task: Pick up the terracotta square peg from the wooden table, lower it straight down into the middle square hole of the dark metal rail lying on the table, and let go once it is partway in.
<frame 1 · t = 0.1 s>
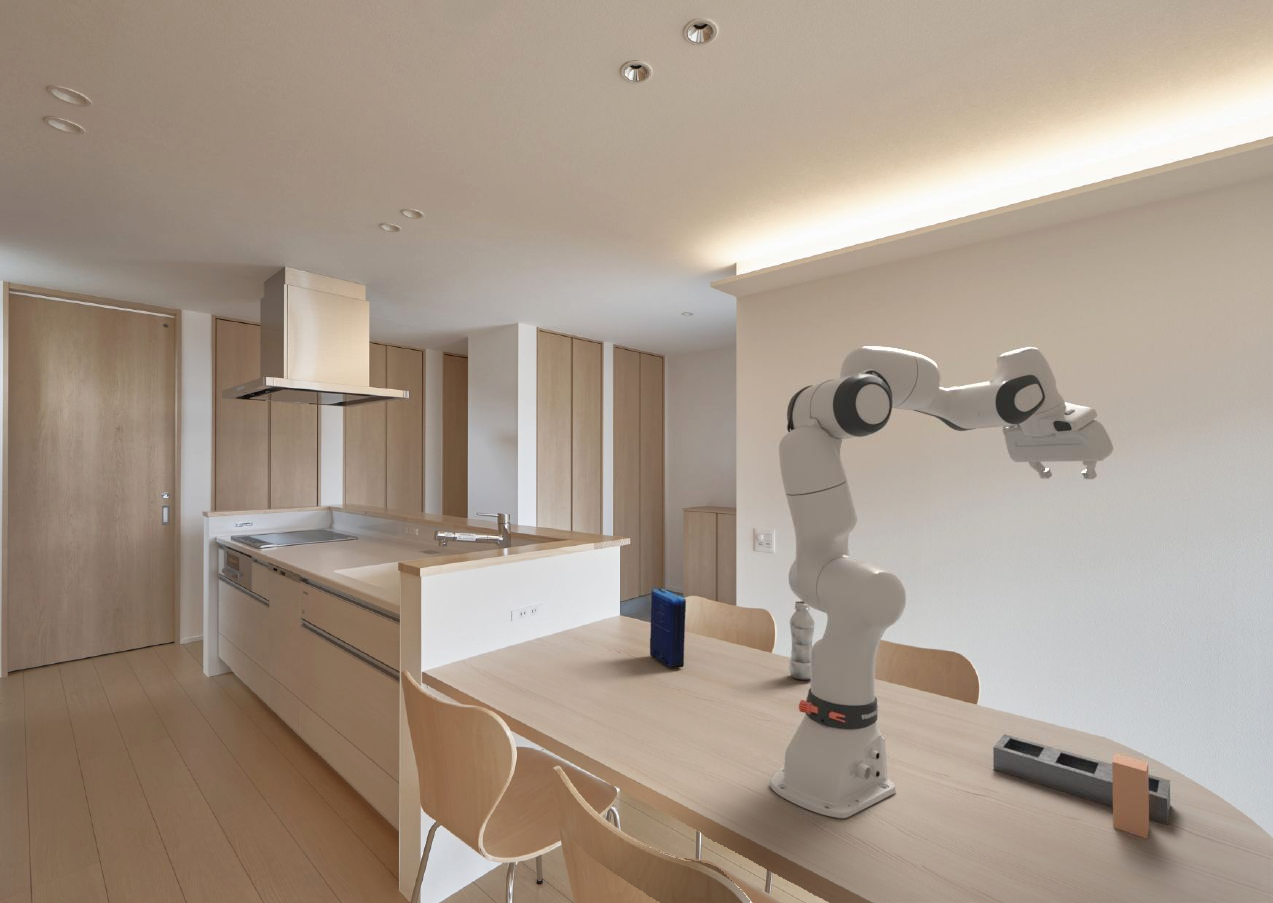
hand: (1068, 477, 125), 54 cm above the table, tool tilted 30°, fingers open, 8 cm apart
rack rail: (1077, 786, 104), on the table
blue upright rectangular block: (666, 663, 167), on the table
peg: (1131, 827, 92), on the table
plastic bottle: (801, 679, 156), on the table
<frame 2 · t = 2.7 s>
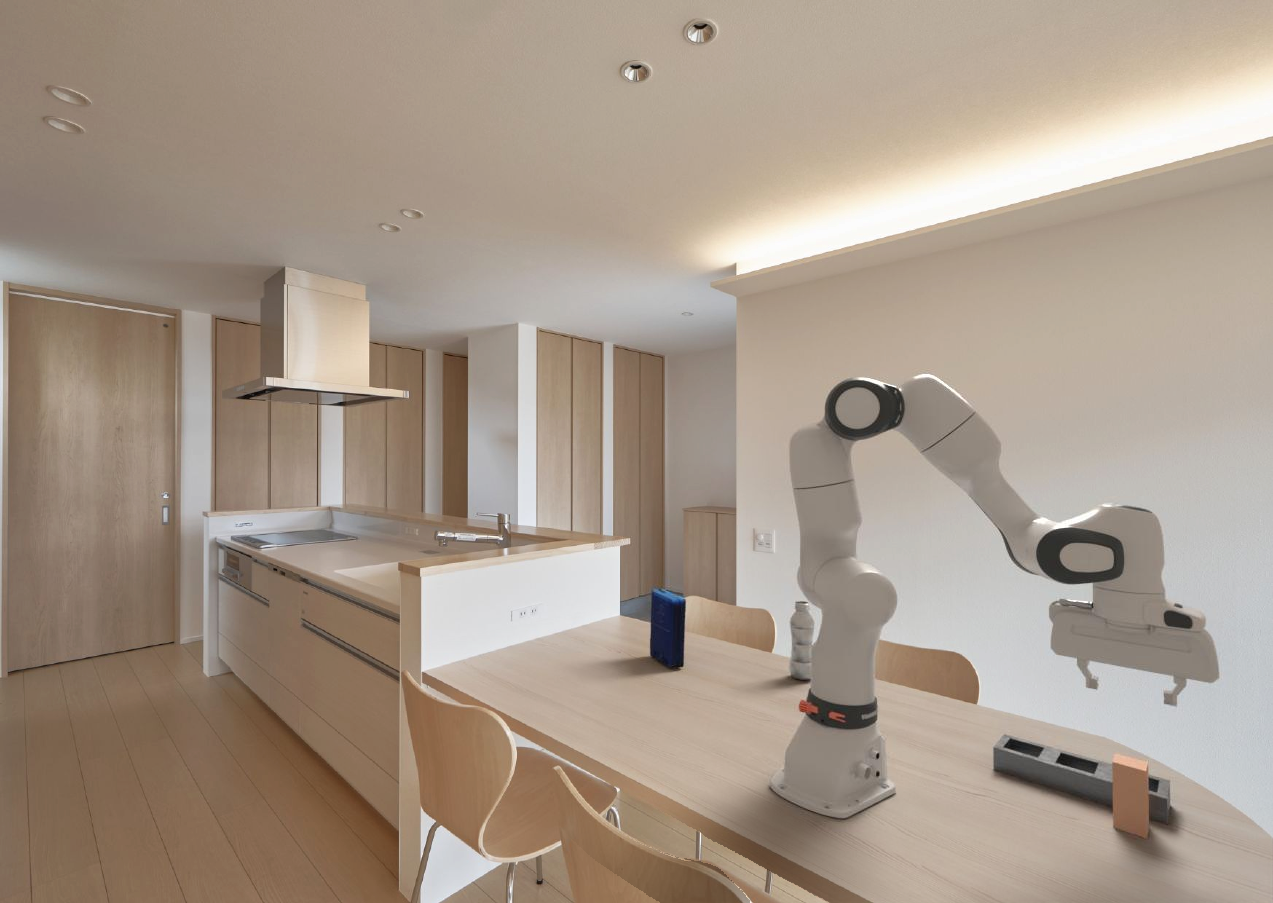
hand: (1130, 695, 92), 20 cm above the table, tool pointing down, fingers open, 8 cm apart
nothing on the table moved.
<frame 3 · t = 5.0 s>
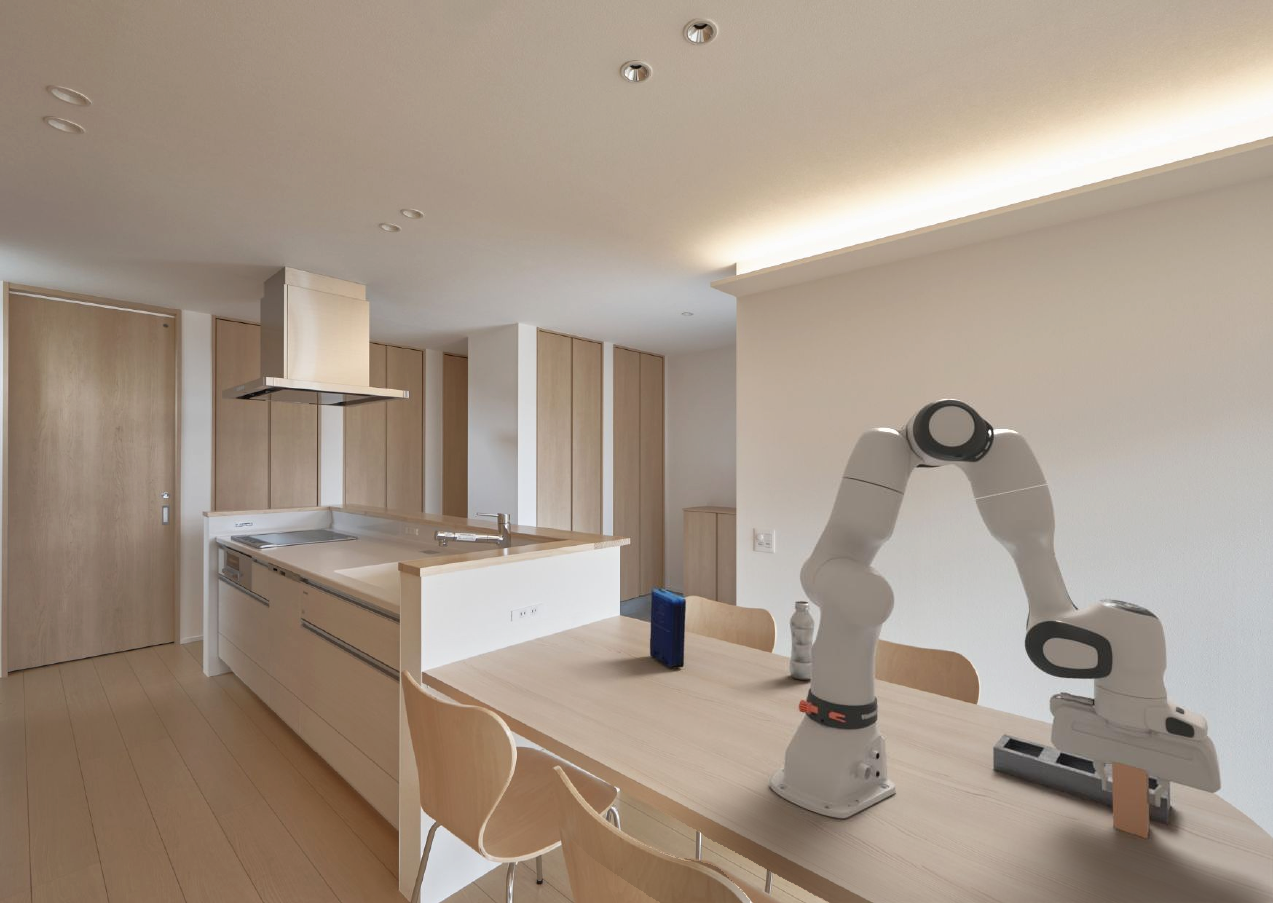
hand: (1130, 797, 92), 5 cm above the table, tool pointing down, fingers closed on peg, 4 cm apart
peg: (1131, 827, 92), on the table, touching gripper
everything else where it was.
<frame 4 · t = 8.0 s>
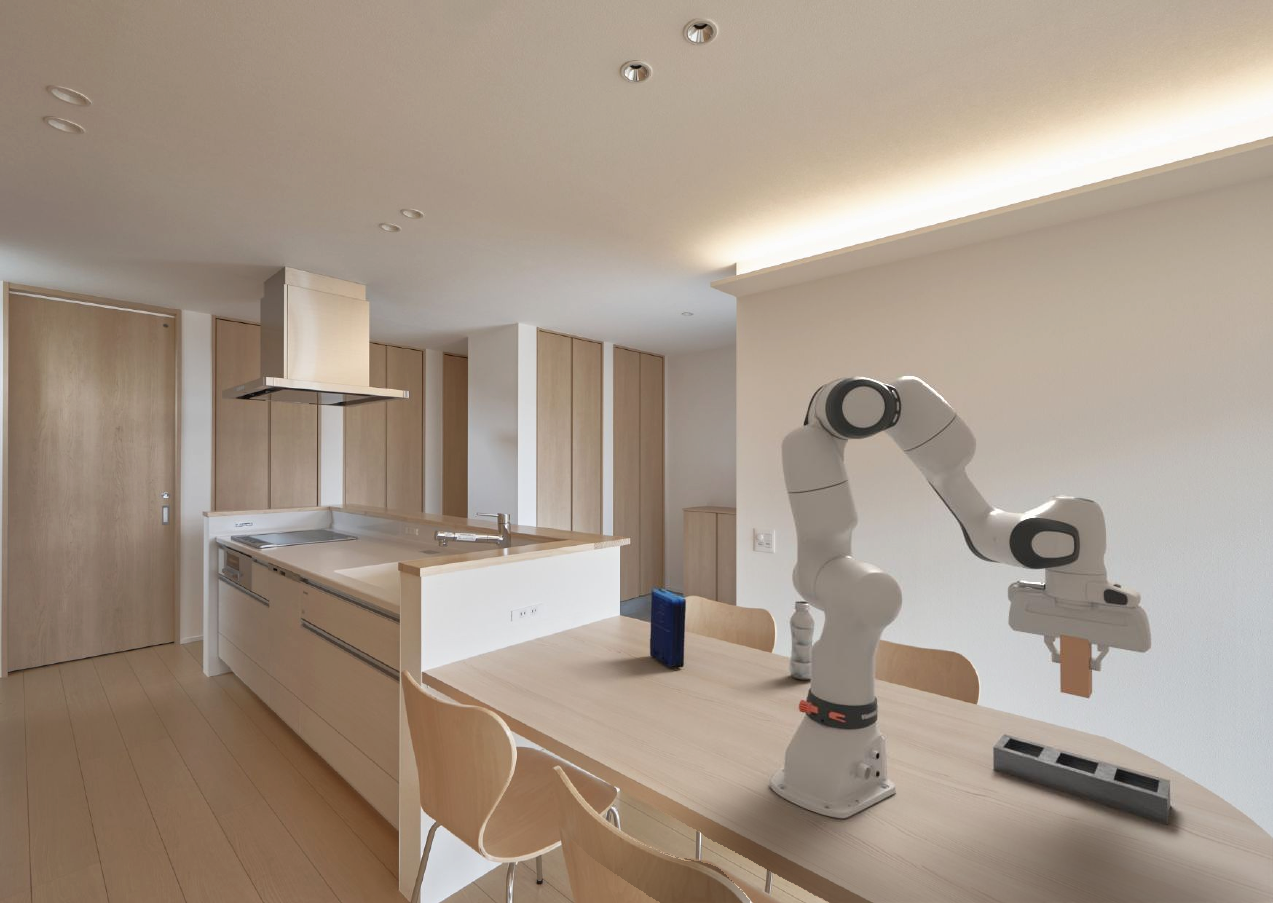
hand: (1076, 666, 104), 21 cm above the table, tool pointing down, fingers closed on peg, 4 cm apart
peg: (1076, 692, 104), point 16 cm above the table, touching gripper
everything else where it was.
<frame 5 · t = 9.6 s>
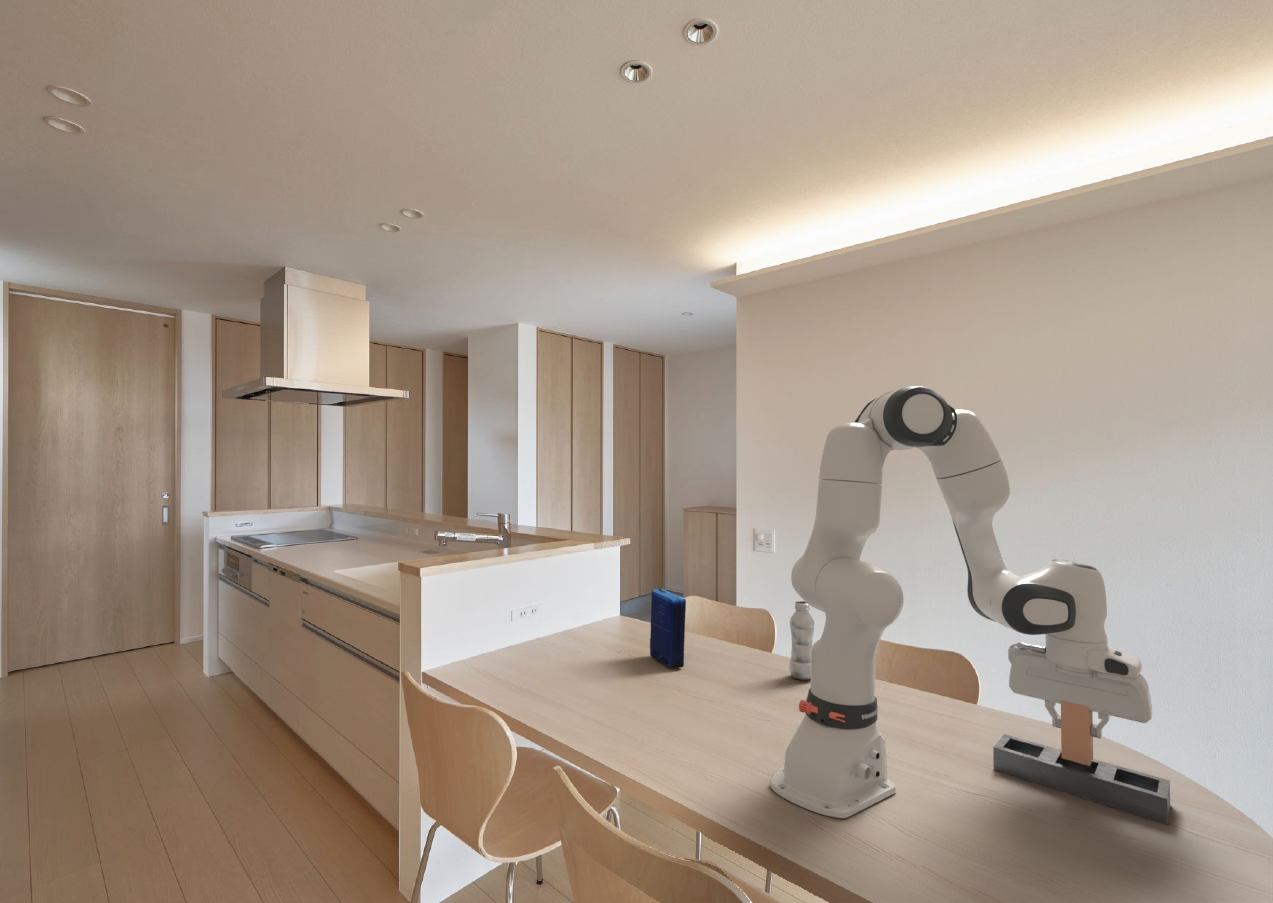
hand: (1076, 731, 104), 9 cm above the table, tool pointing down, fingers closed on peg, 4 cm apart
peg: (1077, 758, 104), point 5 cm above the table, touching gripper
everything else where it was.
when the fingers open (6 cm above the table, at t = 10.9 s): peg drops 1 cm, resting in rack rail.
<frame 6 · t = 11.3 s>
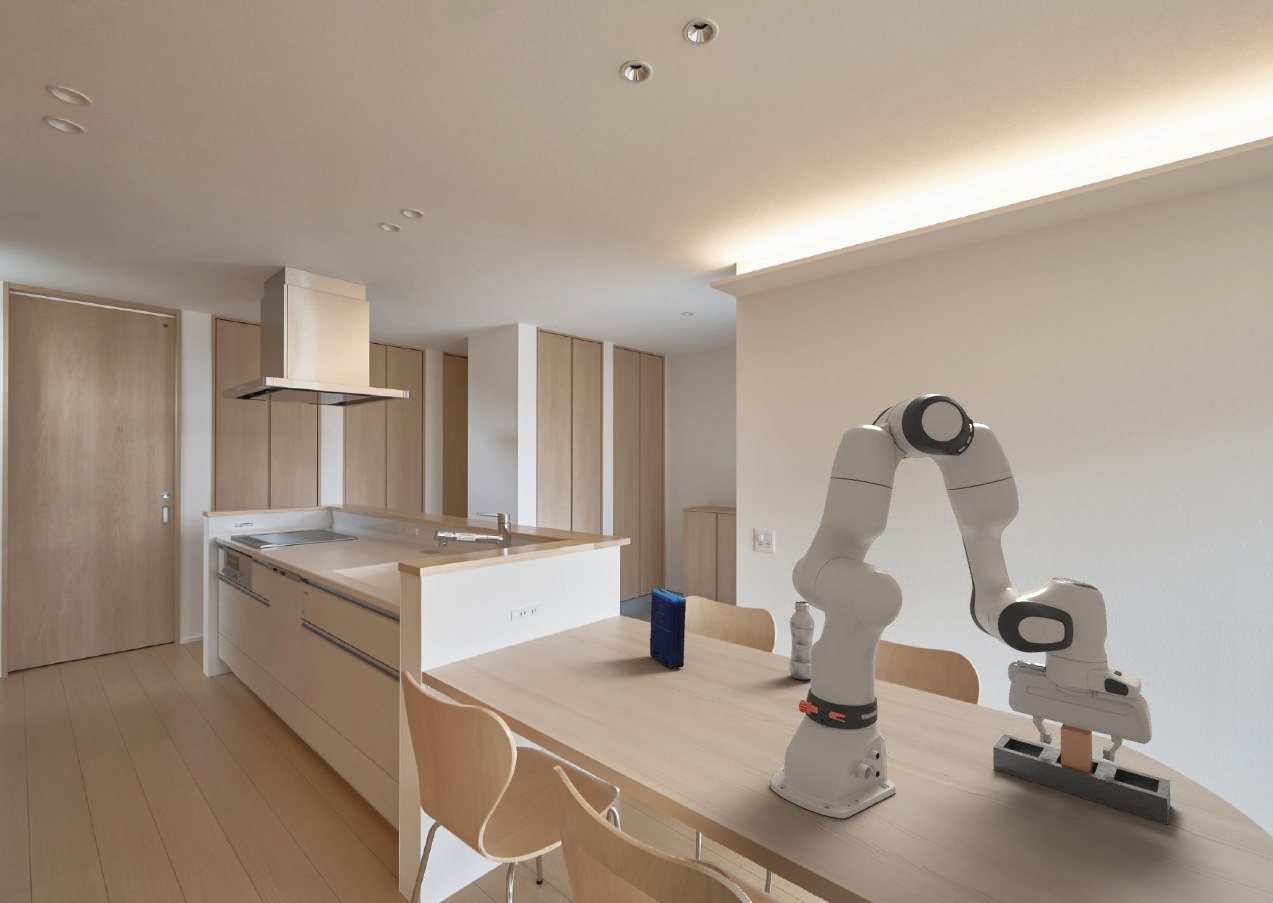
hand: (1076, 750, 104), 6 cm above the table, tool pointing down, fingers open, 8 cm apart
peg: (1076, 786, 104), resting in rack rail
everything else where it was.
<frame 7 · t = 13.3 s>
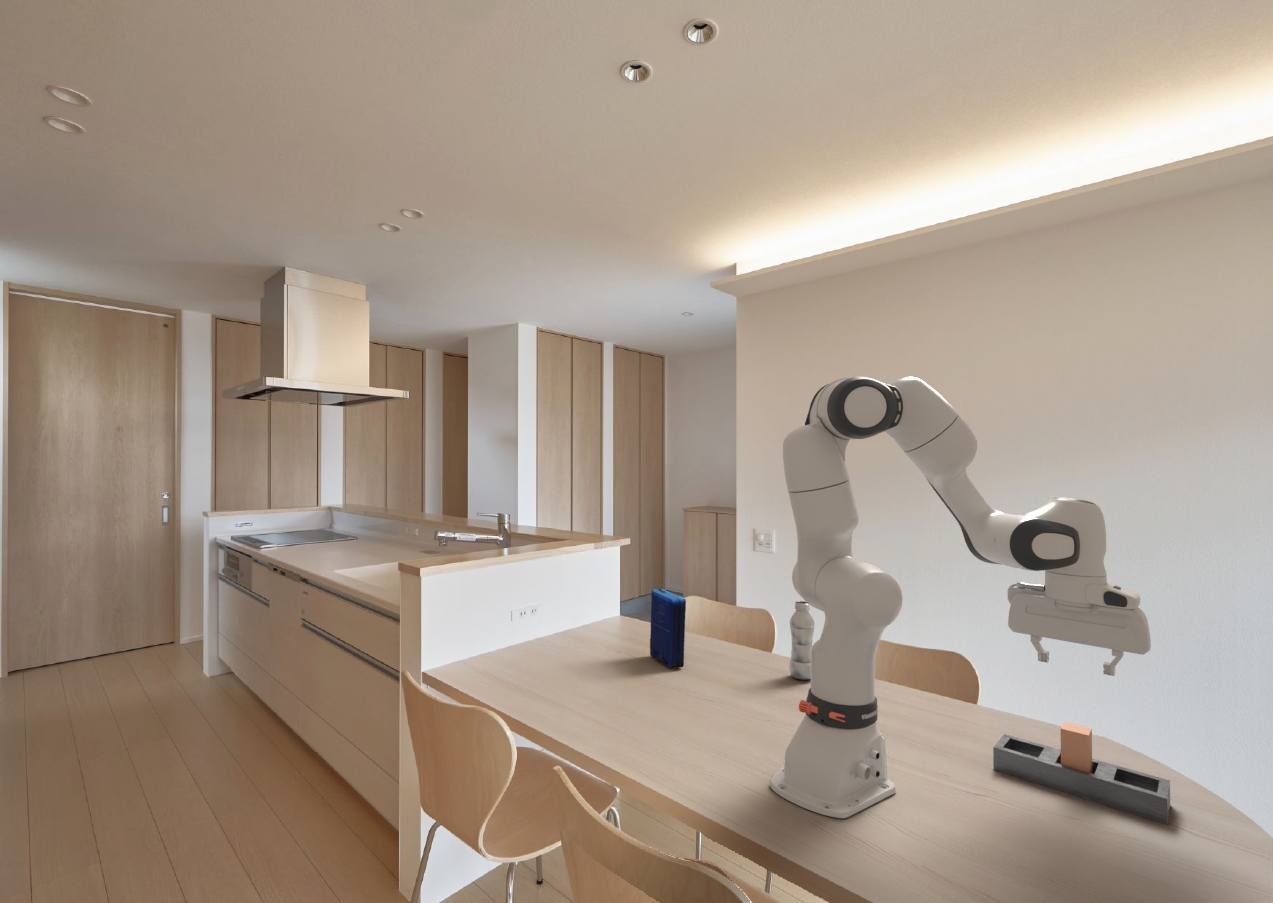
hand: (1075, 667, 104), 21 cm above the table, tool pointing down, fingers open, 8 cm apart
nothing on the table moved.
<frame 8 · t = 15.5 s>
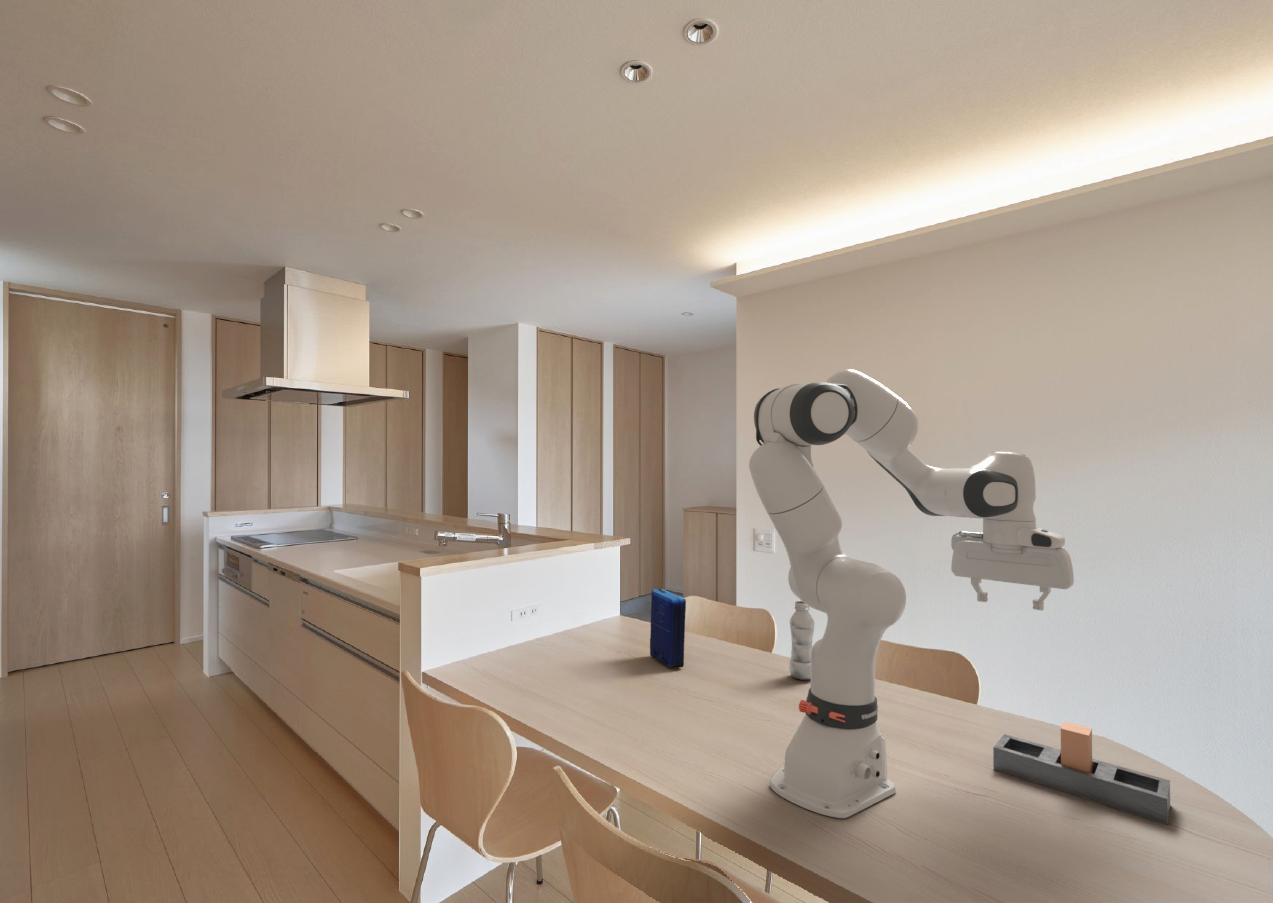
hand: (1009, 605, 115), 29 cm above the table, tool pointing down, fingers open, 8 cm apart
nothing on the table moved.
at the end: peg 0.1 cm off-centre on the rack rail, point 0.0 cm above the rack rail's base; the gripper is holding nothing; peg tilted 0° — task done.
